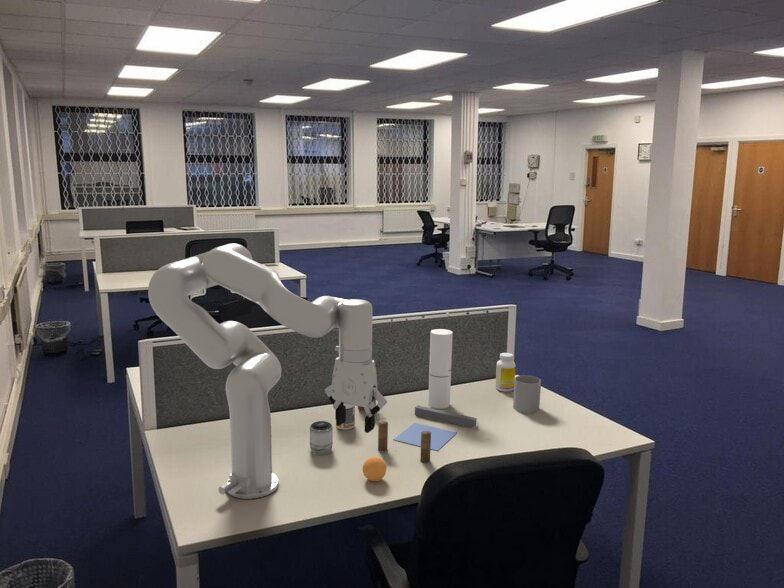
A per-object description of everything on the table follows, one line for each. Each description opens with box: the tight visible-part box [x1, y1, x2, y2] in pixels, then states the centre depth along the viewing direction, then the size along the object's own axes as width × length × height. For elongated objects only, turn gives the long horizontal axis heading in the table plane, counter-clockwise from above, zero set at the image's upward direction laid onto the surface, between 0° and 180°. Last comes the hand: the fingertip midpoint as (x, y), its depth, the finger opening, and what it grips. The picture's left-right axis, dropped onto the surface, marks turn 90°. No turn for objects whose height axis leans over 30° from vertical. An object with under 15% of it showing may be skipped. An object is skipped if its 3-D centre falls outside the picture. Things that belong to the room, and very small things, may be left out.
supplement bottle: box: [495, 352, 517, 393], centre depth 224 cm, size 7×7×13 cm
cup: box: [512, 374, 542, 414], centre depth 207 cm, size 8×8×10 cm
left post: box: [377, 420, 389, 453], centre depth 175 cm, size 3×3×8 cm
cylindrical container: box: [427, 328, 454, 410], centre depth 207 cm, size 7×7×25 cm
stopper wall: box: [414, 405, 478, 429], centre depth 196 cm, size 2×20×2 cm, turn 62°
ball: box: [362, 456, 387, 482], centre depth 158 cm, size 6×6×6 cm
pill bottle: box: [335, 403, 356, 431], centre depth 190 cm, size 6×6×10 cm
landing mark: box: [393, 422, 458, 452], centre depth 185 cm, size 14×14×1 cm
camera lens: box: [309, 420, 334, 456], centre depth 174 cm, size 6×6×8 cm
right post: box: [420, 431, 431, 464], centre depth 169 cm, size 3×3×8 cm
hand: (354, 426), depth 147 cm, fingers open, 7 cm apart
